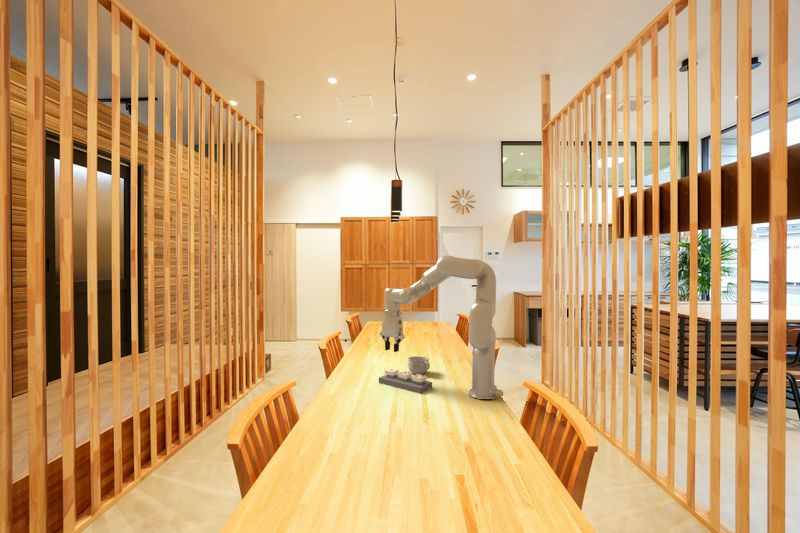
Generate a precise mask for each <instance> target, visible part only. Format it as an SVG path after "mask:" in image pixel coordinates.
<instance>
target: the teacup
mask: <svg viewBox="0 0 800 533" xmlns="http://www.w3.org/2000/svg"><path fill="white" fill-rule="evenodd" d="M429 360H430V358H428V357H426V356H425V357H424V356H419V355H418V356H409V357H408V362H407V363H408V364H407V366H408V367H407V368H408V370H409V371H408V372H411V373H412V375H413V374H414V375H417V374H420V375H425V373H427V372H428V370H430V368H431V365H430V361H429Z"/></svg>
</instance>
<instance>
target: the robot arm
mask: <svg viewBox="0 0 800 533" xmlns="http://www.w3.org/2000/svg"><path fill="white" fill-rule="evenodd" d="M450 277H454V278H460V279H465V280H466V279H467V280H476V289H475V302H474V303H473V304H471V307H470V310H469V318H468V334H467V336H468V341H469V344H470V345H471V347H472V360H471V361H472V364H471V365H472V368H471V370H472V371H471V372H472V374H471V375H472V378H471V379H472V380H471V389H469V390H468V395H469V397H471V398H473V399H475V398H477V399H476V400H479V399H493V398H496V397H497V398H499V396H500V397H503V396H504V391H503V390H502V389H498V388H497V385H495V365H496V364H495V359H496V358H495V357H496V356H495V355H496V341H497V338H496V337H497V335H496V330H495V329H494V326H493V318H494V317H495V316H496V310H497V308H496V305H497V304H496V302H497V278H496V277H497V276H496V274H495V271H494V270H493V268H492V267H491V266H490V264H488V263H487V262H485V261H483V260H481V259H478V258H477V259H476V258H475V259H474V258H473V259H472V258H463V257H457V256H453V255H442V256H441V257H439V258H438V259H437V261H436V263H435V264H434V265H432V266H431V267H430V268H428V269H427V270H425V271H424V272H423V275H422V277H421V279H419V280H418V281H417V282H415V283H414V284H412V285H411V286H409V287H405V288H404V287H403V288H398V287H387V288H385V289H384V315H383V318H382V323H381V331H380V333H379V335H380V337H381V338H382V340H383V342H384V348H385V349H384V350H385V351H389V350H391V341H390V339H391V338H393V341H394V343H393V352H394V353H397V352H400V343H401V342H402V341H403V340H404V339H405V335H404V324H403V318H402V316H401V315H402V311H401V305H408V304H412V303H415V302H417V301H419V300H420V299H422V298H423V297H424V296H425V295H428V293H430V292H431V291H432V290H433V289H435V288H436V287H437V286H439V285H440V284H442V283H444V281H446V280H447V279H450ZM497 398H496V399H497ZM493 400H494V399H493Z"/></svg>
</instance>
